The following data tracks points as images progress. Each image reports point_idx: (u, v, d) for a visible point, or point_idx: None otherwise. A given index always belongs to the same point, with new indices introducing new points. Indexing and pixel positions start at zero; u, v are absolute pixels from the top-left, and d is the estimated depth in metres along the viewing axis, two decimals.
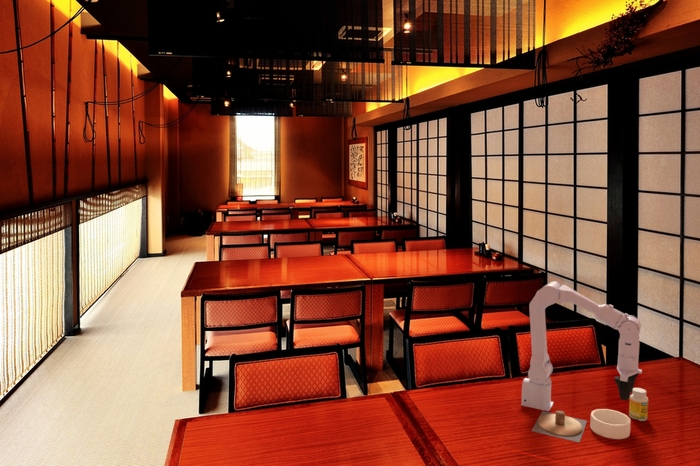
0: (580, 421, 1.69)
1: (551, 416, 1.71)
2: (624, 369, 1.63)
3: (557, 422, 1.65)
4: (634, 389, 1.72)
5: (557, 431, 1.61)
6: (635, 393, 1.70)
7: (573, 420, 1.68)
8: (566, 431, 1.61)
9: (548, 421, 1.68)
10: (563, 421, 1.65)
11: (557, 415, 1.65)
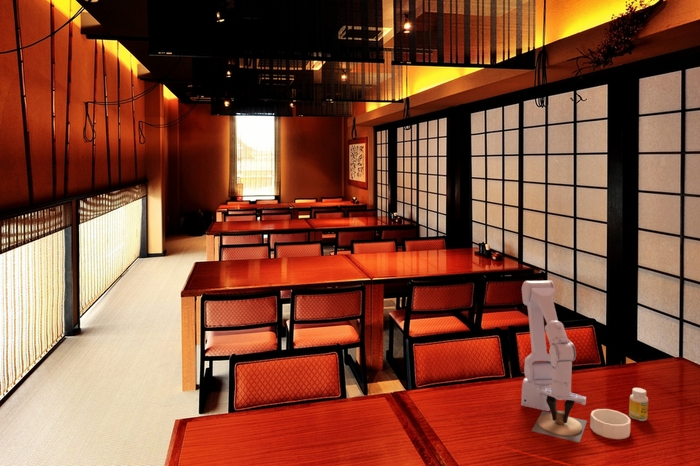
0: (580, 421, 1.69)
1: (551, 416, 1.71)
2: None
3: (557, 422, 1.65)
4: (634, 389, 1.72)
5: (557, 431, 1.61)
6: (635, 393, 1.70)
7: (573, 420, 1.68)
8: (566, 431, 1.61)
9: (548, 421, 1.68)
10: (563, 421, 1.65)
11: (557, 415, 1.65)
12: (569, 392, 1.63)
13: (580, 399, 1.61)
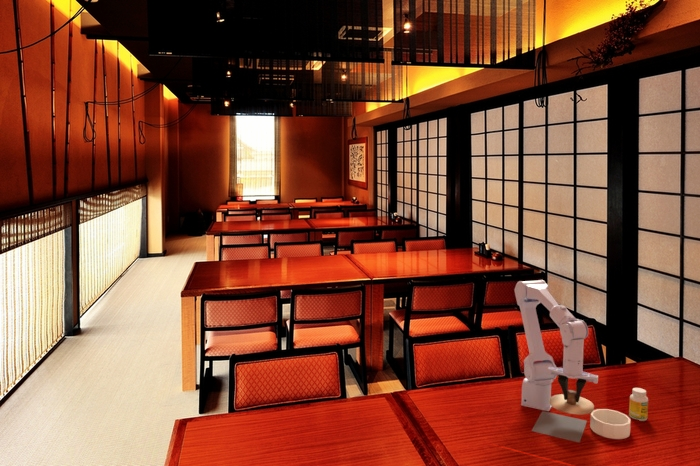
0: (580, 421, 1.69)
1: (562, 396, 1.70)
2: None
3: (569, 401, 1.64)
4: (634, 389, 1.72)
5: (569, 410, 1.60)
6: (635, 393, 1.70)
7: (585, 400, 1.67)
8: (577, 410, 1.59)
9: (560, 400, 1.66)
10: (575, 400, 1.63)
11: (569, 394, 1.64)
12: (581, 371, 1.61)
13: (592, 377, 1.60)
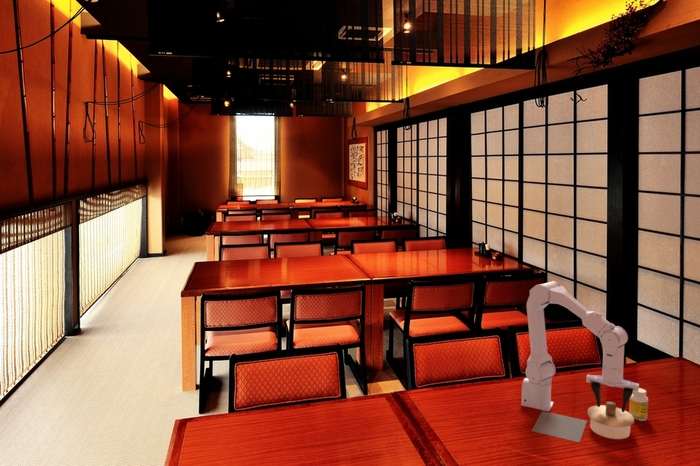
0: (580, 421, 1.69)
1: (600, 407, 1.68)
2: None
3: (608, 413, 1.62)
4: None
5: (609, 422, 1.58)
6: (635, 393, 1.70)
7: (624, 411, 1.64)
8: (618, 422, 1.57)
9: (598, 412, 1.64)
10: (614, 412, 1.61)
11: (608, 406, 1.62)
12: (621, 379, 1.59)
13: (633, 386, 1.57)
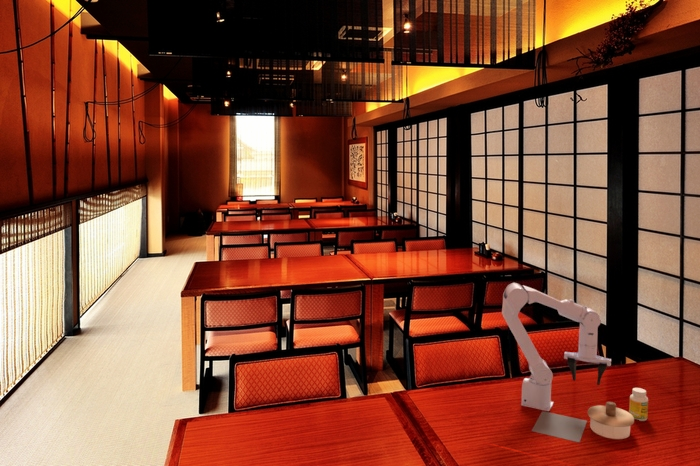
0: (580, 421, 1.69)
1: (600, 407, 1.68)
2: None
3: (608, 413, 1.62)
4: (634, 389, 1.72)
5: (609, 422, 1.58)
6: (635, 393, 1.70)
7: (624, 411, 1.64)
8: (618, 422, 1.57)
9: (598, 412, 1.64)
10: (614, 412, 1.61)
11: (608, 406, 1.62)
12: (595, 355, 1.76)
13: (606, 361, 1.74)
